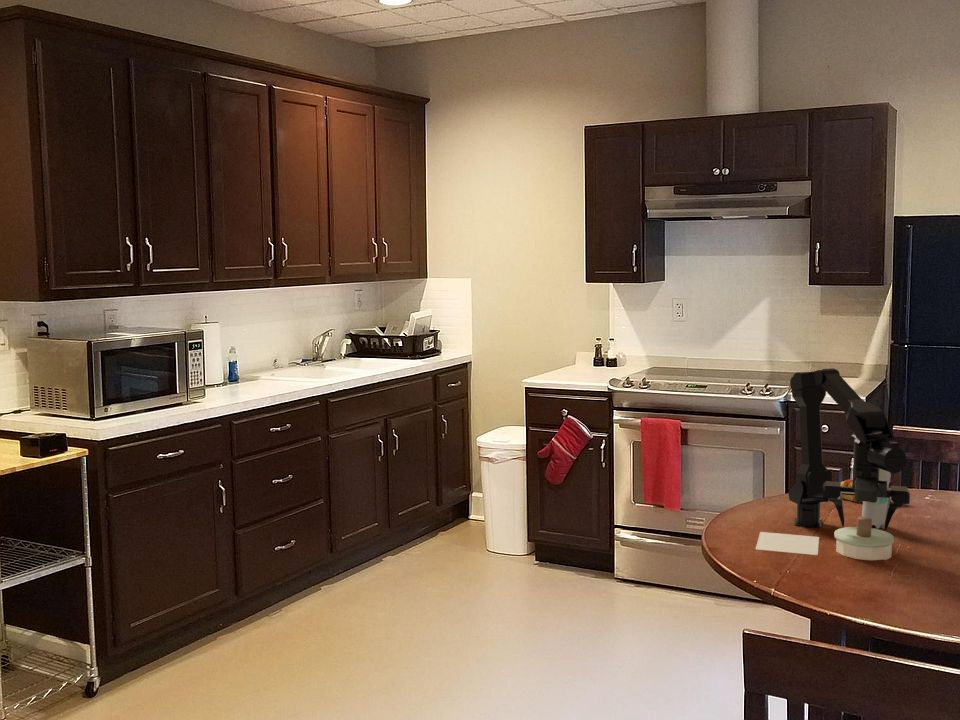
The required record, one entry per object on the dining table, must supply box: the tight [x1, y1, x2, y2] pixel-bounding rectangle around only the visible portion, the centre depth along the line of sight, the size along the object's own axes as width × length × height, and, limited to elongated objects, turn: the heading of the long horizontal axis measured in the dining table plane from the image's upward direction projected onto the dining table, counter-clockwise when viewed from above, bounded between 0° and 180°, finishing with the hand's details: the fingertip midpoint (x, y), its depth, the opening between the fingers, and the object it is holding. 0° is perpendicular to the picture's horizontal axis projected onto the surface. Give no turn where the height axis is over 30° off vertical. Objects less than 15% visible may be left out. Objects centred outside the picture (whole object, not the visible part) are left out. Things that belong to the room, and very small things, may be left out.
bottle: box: [861, 469, 892, 530], centre depth 248 cm, size 7×7×20 cm
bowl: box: [835, 539, 893, 561], centre depth 230 cm, size 12×12×4 cm
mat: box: [755, 531, 820, 556], centre depth 237 cm, size 14×14×1 cm
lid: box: [834, 516, 895, 547], centre depth 229 cm, size 13×13×5 cm
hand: (864, 528), depth 229 cm, fingers open, 9 cm apart
